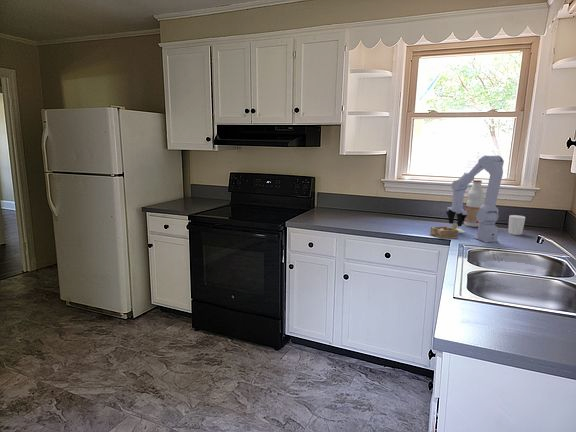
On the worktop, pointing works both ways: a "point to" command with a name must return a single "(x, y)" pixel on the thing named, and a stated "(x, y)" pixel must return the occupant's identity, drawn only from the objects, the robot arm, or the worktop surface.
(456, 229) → the lid
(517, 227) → the white cup
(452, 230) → the box
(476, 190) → the fruit juice
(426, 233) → the worktop surface
